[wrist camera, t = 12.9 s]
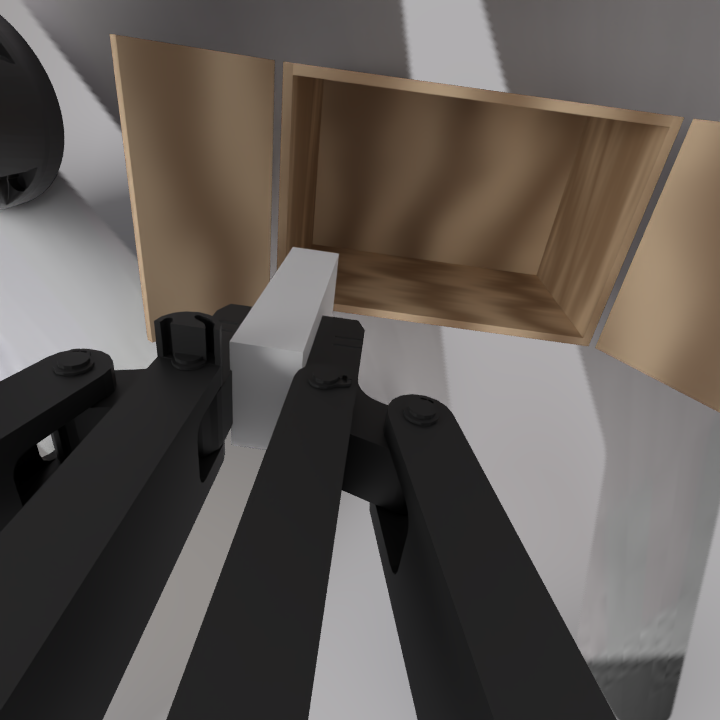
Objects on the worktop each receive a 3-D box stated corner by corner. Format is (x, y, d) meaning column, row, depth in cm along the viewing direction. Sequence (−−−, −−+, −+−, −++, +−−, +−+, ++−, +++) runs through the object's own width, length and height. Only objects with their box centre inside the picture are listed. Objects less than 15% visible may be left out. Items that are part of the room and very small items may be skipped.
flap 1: (115, 34, 17) (109, 33, 17) (152, 342, 24) (147, 339, 24) (274, 60, 23) (269, 59, 23) (269, 302, 30) (264, 300, 30)
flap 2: (733, 419, 24) (736, 417, 24) (913, 146, 18) (916, 146, 18) (594, 347, 30) (598, 346, 30) (693, 118, 23) (697, 119, 23)
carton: (307, 247, 40) (275, 303, 30) (318, 69, 34) (283, 61, 23) (538, 279, 40) (588, 346, 30) (595, 108, 34) (684, 117, 23)
